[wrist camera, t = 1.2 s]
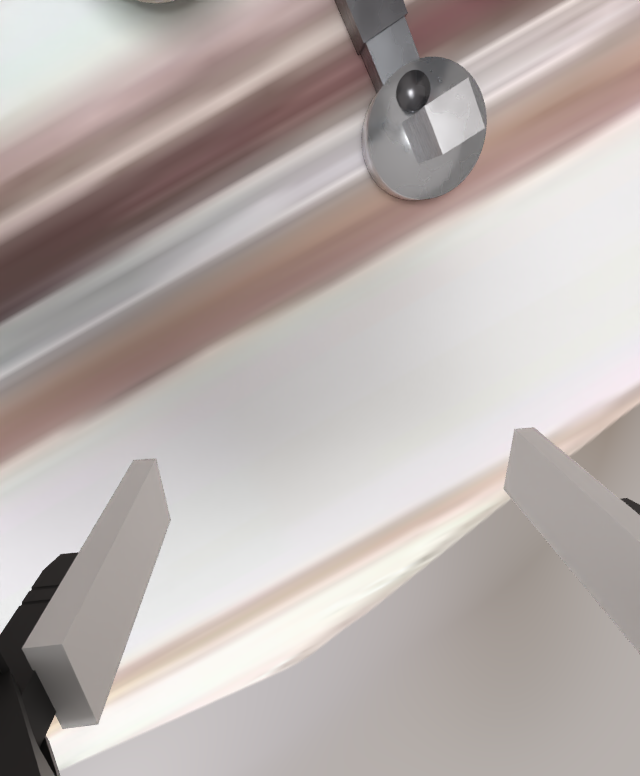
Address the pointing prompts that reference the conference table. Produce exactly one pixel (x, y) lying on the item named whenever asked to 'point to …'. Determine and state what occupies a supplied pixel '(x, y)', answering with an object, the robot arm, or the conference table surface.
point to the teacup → (155, 1)
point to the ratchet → (413, 106)
